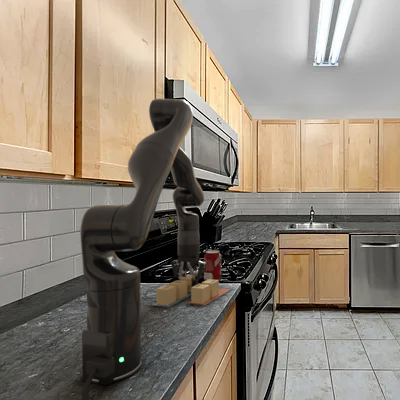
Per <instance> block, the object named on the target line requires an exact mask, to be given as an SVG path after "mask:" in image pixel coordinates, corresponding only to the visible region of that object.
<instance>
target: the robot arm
mask: <svg viewBox="0 0 400 400" xmlns="http://www.w3.org/2000/svg"><path fill="white" fill-rule="evenodd" d="M148 114H149V115H148V116H149V120H150V124H151V126H152V128H153V131H154V132H152V133H150V134H149V135H147V136H145V137H144V138H142V139H141V140H140V141H138V143H137V145H136V146H135V148H134V150H133V151H132V152H131V154H130V157H129V159H128V162H127V171H128V174H129V177H130V179H131V182H132V184H133V186H134V188H135V193H134V197H133V199H132V200H131V202H129V203H128V204H97V205H92V206H90V207H89V208H87V210H86V211H84V214H83V216H82V219H81V222H80V229H79V230H80V232H79V233H80V234H79V236H80V249H81V261H82V262H81V263H82V265H81V266H82V274H83V277H84V280H85V282H86V329H83V330H82V332H81V352H82V353H81V355H82V358H81V359H82V360H81V361H82V363H81V364H82V365H81V367H82V381H83V382H84V385H83V387H82V391H81V400H89V387H90V385H91V383H94V384H97V385H98V384H99V385H104V386H110V385H111V384H113V383H115V382H117V381H121V380H123V379H126V378H128V377H130V376H132V375H133V374H135V373H136V372H138V371H139V370H140V368H141V367H142V365H143V360H142V312H141V311H142V308H141V304H142V303H141V300H142V299H141V297H142V294H141V291H142V290H141V288H142V287H141V280H142V279H141V275H142V274H141V270H140V268H139V267H137V266H135V265H133V264H130V263H128V262H125V261H124V260H123V259H121V258H119V257H118V256H117V254H116V252H133V251H134V252H135V251H137V250H139V249H141V248H142V247H143V246H144V244H145V243H146V241H147V239H148V237H149V234H150V232H151V227H152V224H153V222H154V218H155V213H156V210H157V205H158V202H159V199H160V196H161V194H162V191H163V188H164V186H165V184H166V181H167V179H168V176H169V175H170V173H171V175H172V180H173V183H174V185H175V186H176V188H175V189H174V190H173V192H172V201H173V205H174V208H175V211H176V215H177V219H178V220H177V224H178V225H177V256H178V257H177V259H174V260H171V261H170V266H171V269H172V273H173V277H174V278H178V280H180V277H183V276H185V275H187V273H188V272H189V275H191V276H192V287H194V286H196V285H198V284H199V280H200V279H203V278H204V273H205V269H206V266H207V262H204V261H201V258H200V254H201V252H200V250H201V247H200V245H201V244H200V243H201V241H200V240H201V239H200V237H201V236H200V217H199V215H198V214H197V213H194V212H190V211H188V210H186V208H187V207H190V208H192V207H200V206H202V204H203V203H204V201H205V194H204V191H203V189H202V187H201V185H200V184H199V182H198V180H197V178H196V175H195V170H194V166H193V163H192V159H191V158H190V156H189V155H188V154H187V153H186V152H185V151H184V149H182V148H181V147H180V146H181V145H182V143H183V141H184V140H185V138H186V136H187V134H188V133H189V131H190V129H191V127H192V124H193V120H194V119H193V118H194V112H193V108H192V106H191V104H190V103H189V101H186V100H183V99H176V98H154V99H152V100H151V102H150V103H149V107H148Z"/></svg>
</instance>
